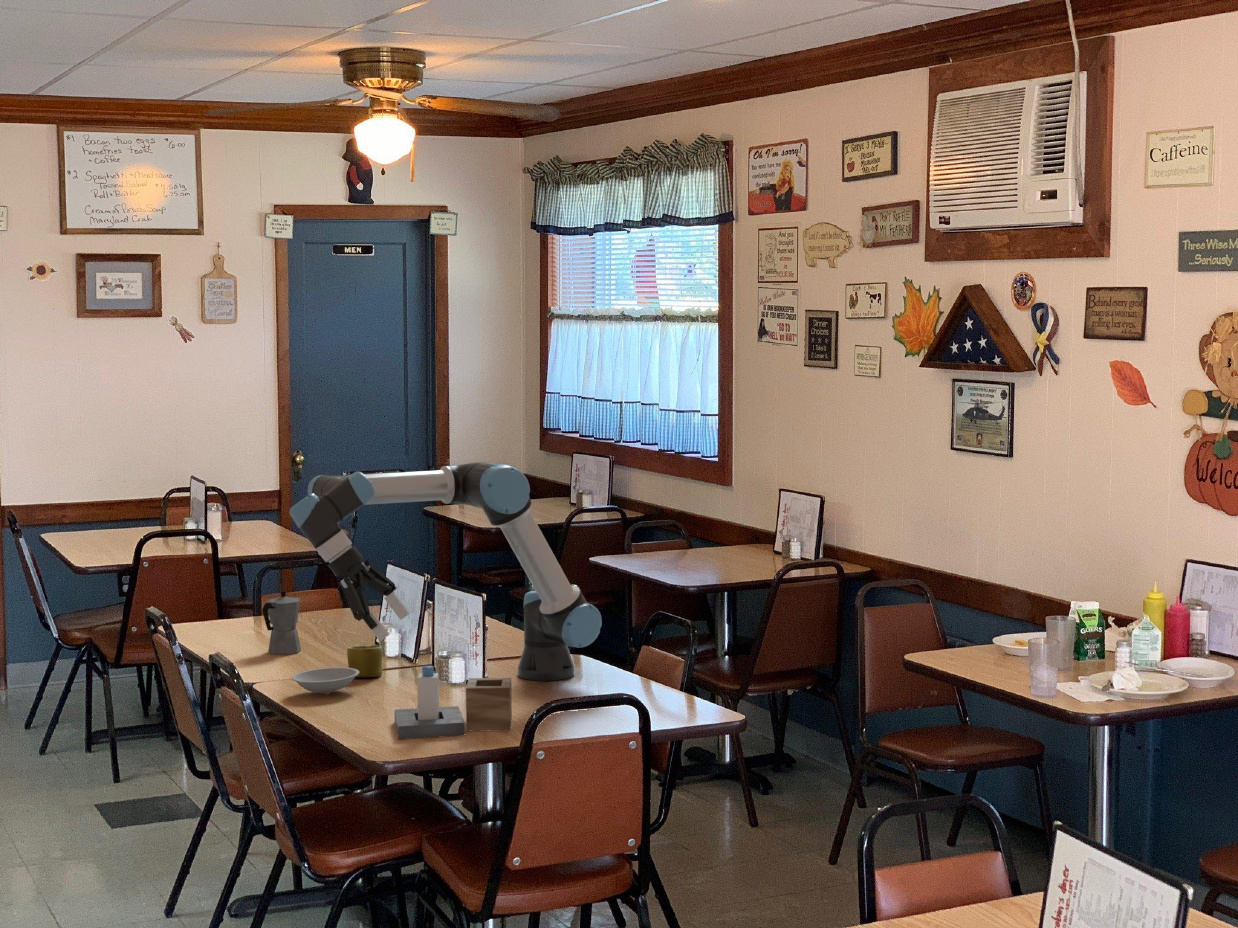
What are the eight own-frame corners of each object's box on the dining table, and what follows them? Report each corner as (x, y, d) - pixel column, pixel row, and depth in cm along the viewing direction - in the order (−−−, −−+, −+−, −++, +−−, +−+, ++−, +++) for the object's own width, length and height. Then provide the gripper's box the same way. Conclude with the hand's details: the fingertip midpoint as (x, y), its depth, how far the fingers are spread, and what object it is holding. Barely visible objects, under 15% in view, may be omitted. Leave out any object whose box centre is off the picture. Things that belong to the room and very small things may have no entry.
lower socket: (458, 718, 338) (458, 705, 337) (464, 735, 323) (464, 722, 323) (394, 721, 334) (394, 709, 334) (398, 739, 320) (398, 726, 320)
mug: (379, 674, 374) (371, 638, 376) (345, 684, 376) (336, 648, 378) (398, 673, 386) (390, 637, 388) (365, 683, 388) (356, 647, 390)
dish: (309, 704, 351) (308, 685, 350) (281, 694, 361) (280, 674, 361) (371, 693, 362) (370, 673, 362) (342, 682, 373) (341, 664, 373)
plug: (420, 723, 331) (419, 664, 330) (439, 723, 331) (438, 664, 330) (418, 729, 326) (417, 669, 325) (437, 728, 327) (436, 668, 325)
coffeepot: (286, 645, 419) (285, 585, 417) (312, 648, 415) (310, 588, 413) (251, 656, 405) (249, 593, 404) (277, 659, 401) (275, 596, 400)
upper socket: (469, 719, 336) (468, 678, 336) (511, 719, 337) (511, 677, 336) (466, 731, 326) (465, 688, 326) (510, 730, 327) (509, 687, 326)
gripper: (349, 546, 343) (402, 616, 345) (306, 580, 319) (363, 655, 321) (371, 529, 340) (424, 600, 342) (330, 563, 317) (387, 638, 319)
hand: (395, 627), depth 332 cm, fingers open, 13 cm apart
